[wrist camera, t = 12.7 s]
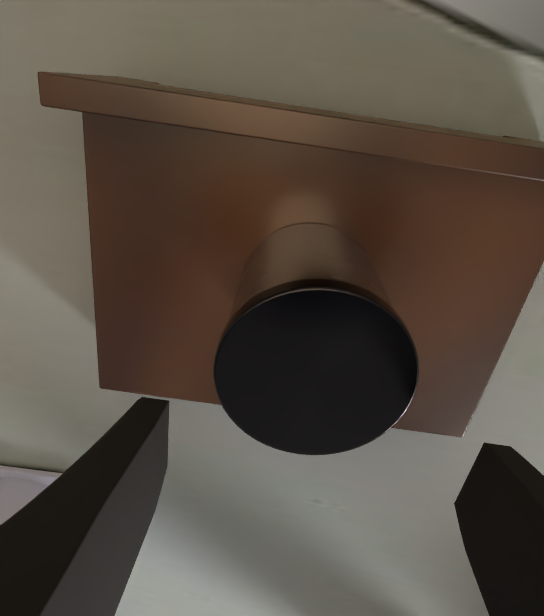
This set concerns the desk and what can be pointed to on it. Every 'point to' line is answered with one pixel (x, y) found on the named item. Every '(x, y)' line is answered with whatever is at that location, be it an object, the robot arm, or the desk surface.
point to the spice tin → (314, 346)
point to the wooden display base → (291, 211)
